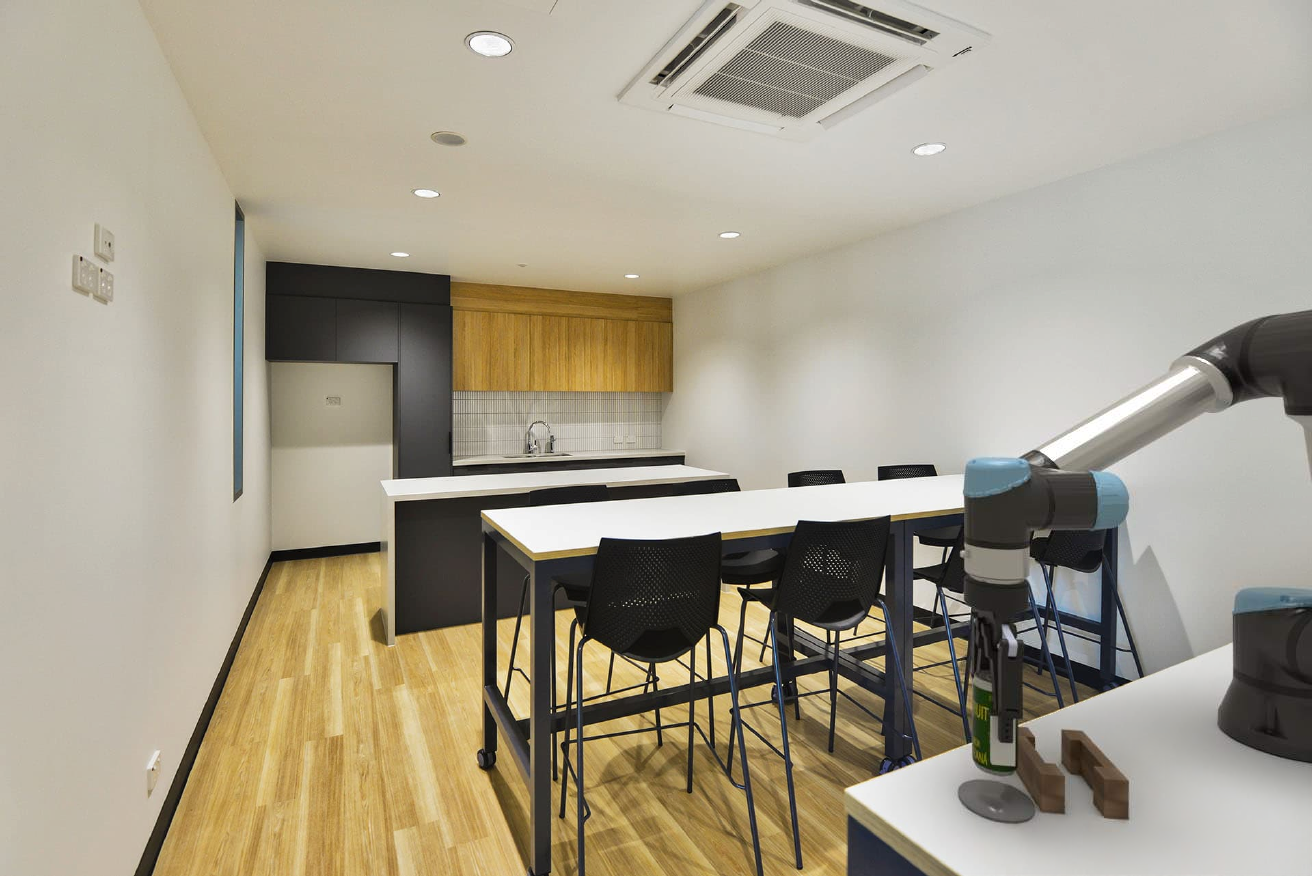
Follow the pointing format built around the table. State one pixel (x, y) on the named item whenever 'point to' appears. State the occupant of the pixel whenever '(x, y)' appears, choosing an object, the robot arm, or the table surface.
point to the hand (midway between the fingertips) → (995, 751)
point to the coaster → (996, 801)
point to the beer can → (986, 726)
